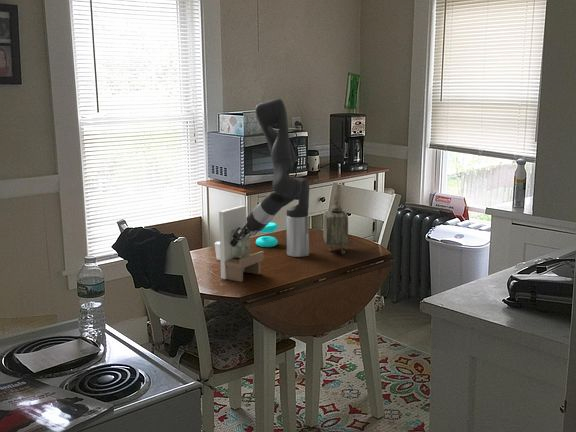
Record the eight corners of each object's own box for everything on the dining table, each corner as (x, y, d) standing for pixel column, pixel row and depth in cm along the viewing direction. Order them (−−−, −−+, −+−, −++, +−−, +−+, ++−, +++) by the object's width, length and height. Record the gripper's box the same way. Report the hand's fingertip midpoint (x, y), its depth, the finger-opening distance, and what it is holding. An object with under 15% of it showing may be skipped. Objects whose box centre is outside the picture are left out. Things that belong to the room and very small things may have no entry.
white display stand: (264, 273, 246) (263, 208, 241) (241, 282, 235) (240, 214, 229) (243, 269, 251) (242, 205, 246) (221, 278, 240) (218, 211, 235)
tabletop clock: (347, 255, 271) (348, 198, 266) (326, 256, 270) (327, 198, 265) (342, 246, 285) (343, 192, 280) (322, 247, 284) (323, 192, 279)
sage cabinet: (252, 255, 242) (251, 229, 240) (243, 258, 238) (242, 232, 236) (240, 253, 245) (240, 228, 243) (231, 256, 241) (231, 230, 239)
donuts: (271, 220, 294) (281, 224, 285) (271, 241, 296) (281, 246, 288) (251, 223, 289) (261, 227, 281) (252, 244, 291) (262, 248, 283)
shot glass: (224, 261, 263) (224, 245, 262) (211, 259, 267) (211, 243, 265) (234, 257, 269) (234, 241, 267) (221, 255, 272) (221, 239, 271)
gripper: (266, 204, 240) (242, 231, 248) (243, 211, 228) (219, 239, 237) (278, 220, 238) (253, 246, 247) (255, 227, 226) (230, 254, 235)
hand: (237, 243), depth 242 cm, fingers closed on sage cabinet, 5 cm apart
